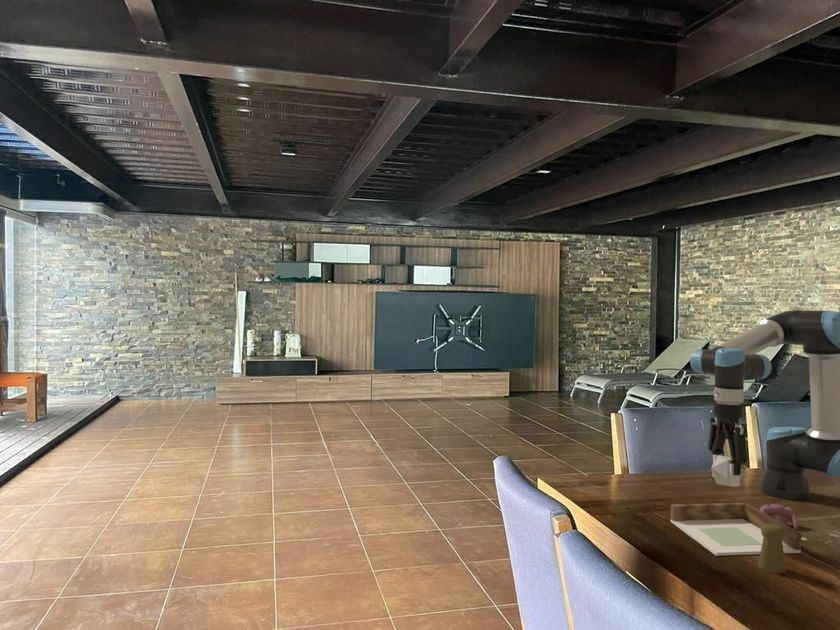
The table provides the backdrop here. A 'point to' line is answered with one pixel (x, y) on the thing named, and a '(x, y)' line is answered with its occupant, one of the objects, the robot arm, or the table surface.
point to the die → (722, 470)
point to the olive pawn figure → (772, 549)
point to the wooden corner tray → (730, 527)
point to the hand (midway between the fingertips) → (725, 481)
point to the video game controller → (785, 513)
